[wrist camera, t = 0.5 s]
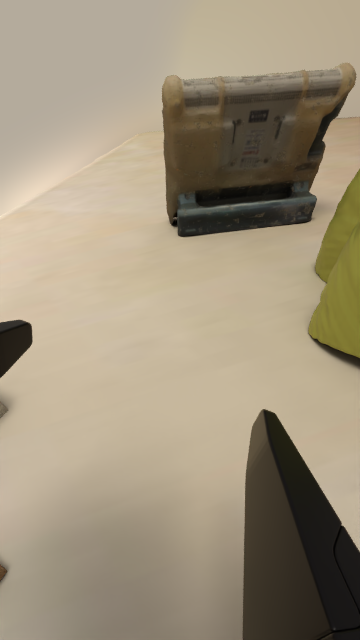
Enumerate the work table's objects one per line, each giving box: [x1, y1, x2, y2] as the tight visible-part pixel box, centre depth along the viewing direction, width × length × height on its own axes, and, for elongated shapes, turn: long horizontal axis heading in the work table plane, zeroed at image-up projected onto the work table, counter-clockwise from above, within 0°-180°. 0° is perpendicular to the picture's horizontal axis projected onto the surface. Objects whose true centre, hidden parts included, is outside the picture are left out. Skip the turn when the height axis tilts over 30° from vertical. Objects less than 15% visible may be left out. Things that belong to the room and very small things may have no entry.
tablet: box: [162, 63, 356, 236], centre depth 50 cm, size 33×14×25 cm, turn 103°
